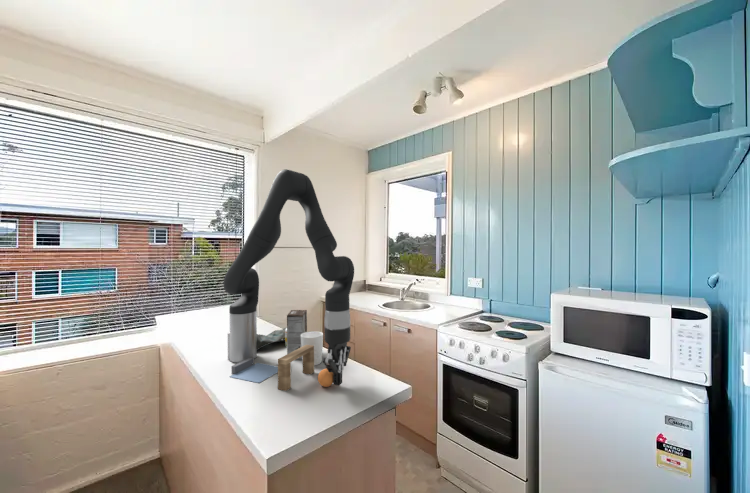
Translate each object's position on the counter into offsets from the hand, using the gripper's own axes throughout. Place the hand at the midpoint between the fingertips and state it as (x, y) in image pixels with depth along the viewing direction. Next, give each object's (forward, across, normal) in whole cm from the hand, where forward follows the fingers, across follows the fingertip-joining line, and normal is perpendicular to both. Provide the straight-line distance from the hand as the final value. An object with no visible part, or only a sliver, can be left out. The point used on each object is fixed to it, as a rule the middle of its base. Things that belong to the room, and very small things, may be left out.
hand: (337, 384), depth 88 cm
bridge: (+1, 0, -14) cm, 14 cm away
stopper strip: (+1, 0, -36) cm, 36 cm away
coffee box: (+1, -19, -28) cm, 34 cm away
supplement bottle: (+1, -26, -36) cm, 44 cm away
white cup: (+1, -14, -18) cm, 23 cm away
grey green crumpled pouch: (+2, -27, -44) cm, 51 cm away
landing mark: (+1, 0, -30) cm, 30 cm away
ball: (-1, 0, -4) cm, 4 cm away
